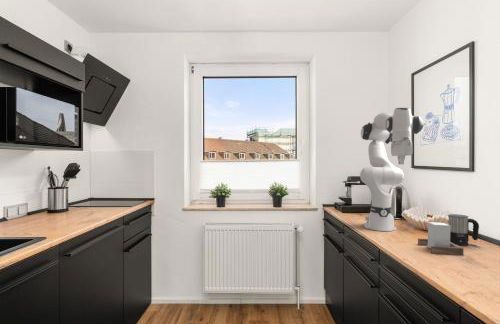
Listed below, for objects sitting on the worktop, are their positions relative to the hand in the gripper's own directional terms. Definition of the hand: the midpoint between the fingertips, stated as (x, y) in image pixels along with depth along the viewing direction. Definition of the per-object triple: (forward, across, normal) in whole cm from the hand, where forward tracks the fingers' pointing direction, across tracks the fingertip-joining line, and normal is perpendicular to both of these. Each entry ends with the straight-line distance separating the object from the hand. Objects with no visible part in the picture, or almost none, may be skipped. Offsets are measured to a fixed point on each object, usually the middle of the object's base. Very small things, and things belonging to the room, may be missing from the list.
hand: (401, 164), depth 164 cm
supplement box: (+41, -10, -15) cm, 45 cm away
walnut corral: (+41, -10, -15) cm, 45 cm away
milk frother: (+41, +8, -33) cm, 53 cm away
